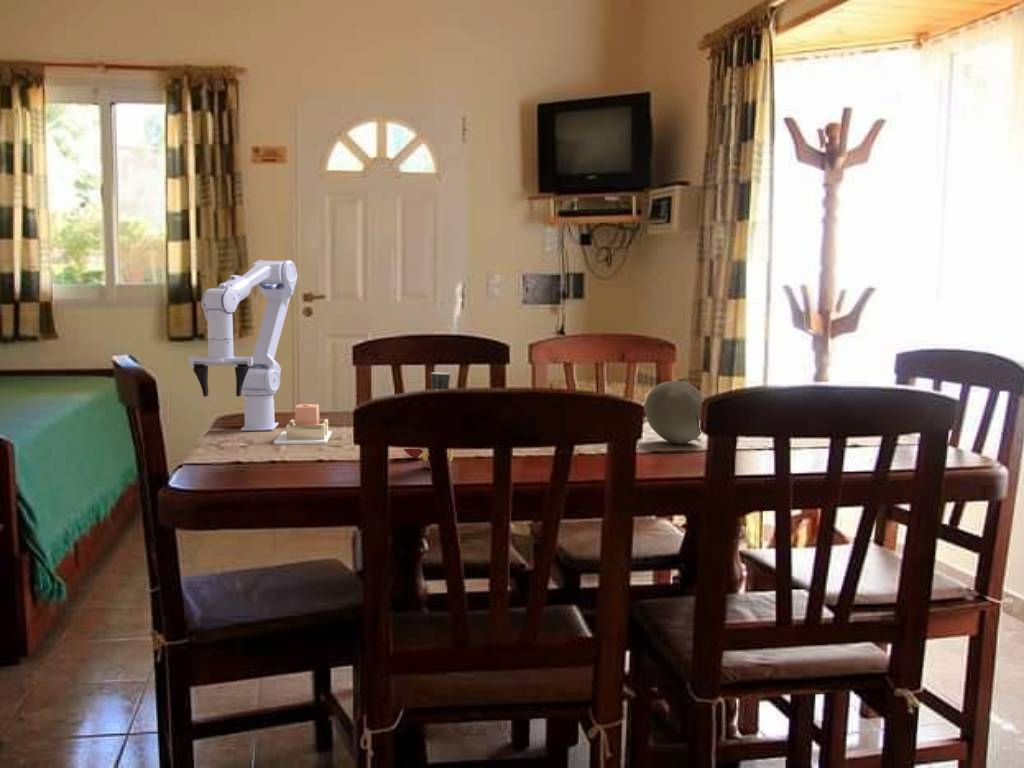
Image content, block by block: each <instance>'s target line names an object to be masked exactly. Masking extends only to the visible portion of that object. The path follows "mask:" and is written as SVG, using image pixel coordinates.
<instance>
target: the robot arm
mask: <svg viewBox="0 0 1024 768" xmlns="http://www.w3.org/2000/svg"><path fill="white" fill-rule="evenodd" d="M298 277H299V276H298V272H297V267H296V265H295V262H294V261H292V260H290V259H288V260H263V259H259V260H257V261H256V262H253V263H252V267H251V268H250V269H249V270H248V271H247V272H246V273H244V274H243V275H238V274H233V275H230V276H229V279H228V280H226V281H224V282H221V283H219V284H218V286H217V287H215V288H214V287H213V288H211V287H210V288H208V289H206V291H205V292H204V293H203V295H202V298H201V300H200V304H201V307H202V310H203V312H204V318H205V320H206V321H207V344H208V345H207V346H208V348H207V349H208V356H199V357H196V356H194V357H189V358H188V365H189V367H192V370H193V373H194V374H195V376H196V378H197V380H198V382H199V385H200V387H201V391H202V395H203V397H208V396H209V384H208V383H209V382H208V380H209V379H208V377H209V367H213V366H214V367H219V366H222V367H223V366H227V367H228V366H229V367H231V366H232V367H233V366H235V367H234V370H235V371H234V372H235V384H236V385H235V386H236V389H235V394H236V395H235V396H236V397H241V396H242V395H243V402H244V403H243V404H244V405H243V406H244V407H243V408H244V412H243V413H244V426H242V427H241V428H240V431H244V432H245V431H246V432H247V431H274V430H275V429H276V428H277V426H278V425H279V422H278V421H277V422H275V419H276V418H275V400H274V394H277V391H278V390H279V388H280V385H281V373H282V368H281V365H280V364H279V362H277V360H275V356H276V353H277V349H278V345H279V342H280V337H281V335H282V330H283V327H284V324H285V323H284V322H285V319H286V315H287V312H288V308H289V304H290V300H291V297H292V296H293V295H294V292H295V288H296V285H297V280H298ZM256 286H258V288H259V291H260V292H261V294H262V295H263V296H264V297H266V298H267V304H266V306H265V310H264V314H263V318H262V322H261V326H260V329H259V333H258V336H257V339H256V343H255V347H254V350H253V354H251V355H250V356H234V323H233V322H234V321H233V313H234V312H236V310H237V307H238V305H239V304H240V302H241V301H243V300H245V299H246V298H247V297H248V296H249V295H250V294H251V291H252V288H254V287H256Z"/></svg>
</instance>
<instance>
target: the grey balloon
mask: <svg viewBox="0 0 1024 768" xmlns="http://www.w3.org/2000/svg"><path fill="white" fill-rule="evenodd" d="M703 397H704V396H703V395H702V394H701V392H700V391H699V389H698V388H697V387H695V386H694V385H692V384H691V383H690V382H687V381H683V380H679V381H678V380H674V381H663V382H660V383H659V384H657V385H656V386H654V387H653V388H652V389H651V391H650V392H649V394H648V395H647V397H646V399H645V403H644V411H645V410H646V413H645V418H646V420H647V423H648V425H649V426H650V428H651V429H652V430H653V431H654V432H655V433H656V434H657V435H658V436H659V437H660V438H662V440H665V441H667V442H668V443H672V444H674V445H686V444H688V443H690V442H692V441H694V440H697V438H699V437H700V436H701V435H702V433H701V432H700V428H699V419H700V405H701V403H702V402H703V401H704V402H705V400H704V398H703Z"/></svg>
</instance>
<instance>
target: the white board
mask: <svg viewBox="0 0 1024 768" xmlns="http://www.w3.org/2000/svg"><path fill="white" fill-rule="evenodd" d="M332 434H333V431H332V430H328V434H327V436H326V437H325V439H307V440H287V430H284V431H281V433H280V434H279V435H278V436H277V438H276V439H275V440H274V441H273V445H327V442H328V441H329V439H330V437H331V436H332Z"/></svg>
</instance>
